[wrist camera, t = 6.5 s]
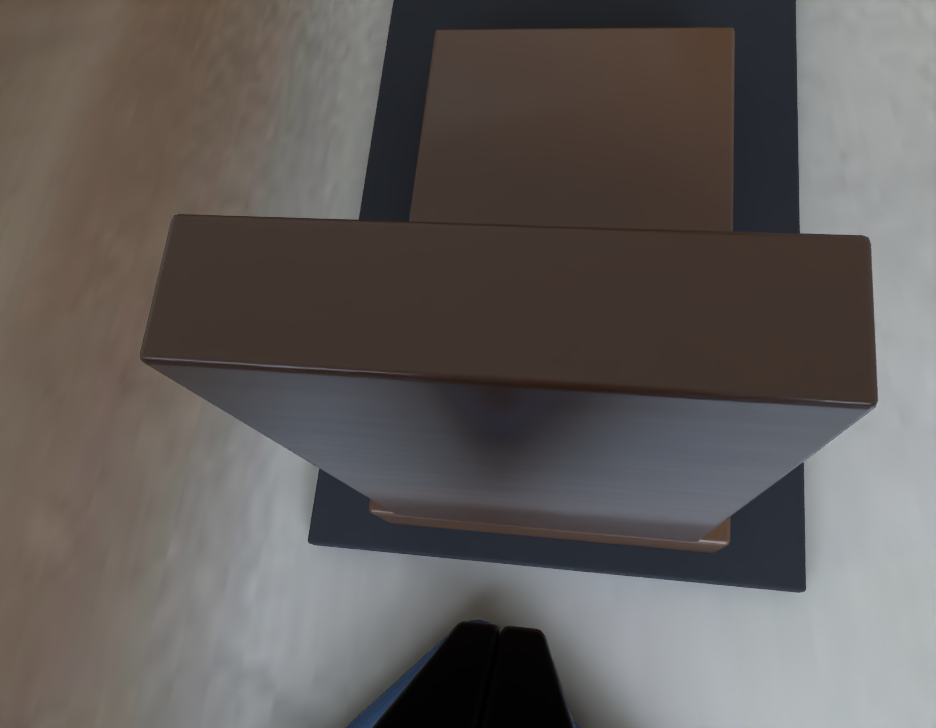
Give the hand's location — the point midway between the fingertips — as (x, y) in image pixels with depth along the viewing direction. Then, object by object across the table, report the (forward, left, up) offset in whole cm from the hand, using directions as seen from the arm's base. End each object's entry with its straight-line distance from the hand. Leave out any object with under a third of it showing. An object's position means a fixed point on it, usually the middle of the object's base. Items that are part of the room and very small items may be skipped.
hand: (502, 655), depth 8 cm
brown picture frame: (+6, +3, -6) cm, 9 cm away
